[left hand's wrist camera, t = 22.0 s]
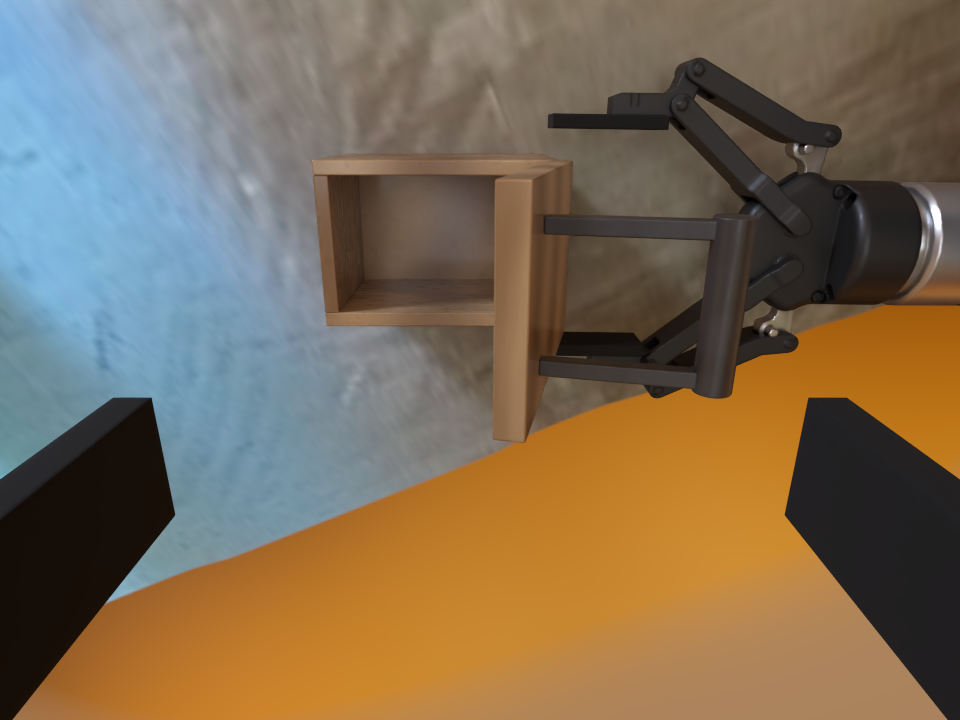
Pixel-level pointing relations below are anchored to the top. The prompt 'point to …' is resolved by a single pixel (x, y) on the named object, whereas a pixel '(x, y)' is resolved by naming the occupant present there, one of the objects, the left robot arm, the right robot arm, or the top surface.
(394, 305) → the chest
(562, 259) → the lid
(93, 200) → the top surface
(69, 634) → the left robot arm
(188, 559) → the top surface
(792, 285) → the right robot arm
